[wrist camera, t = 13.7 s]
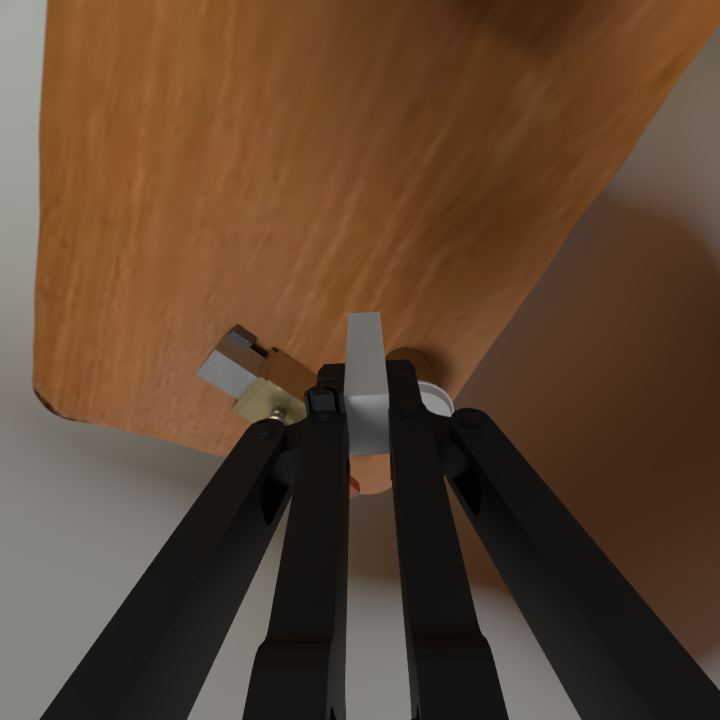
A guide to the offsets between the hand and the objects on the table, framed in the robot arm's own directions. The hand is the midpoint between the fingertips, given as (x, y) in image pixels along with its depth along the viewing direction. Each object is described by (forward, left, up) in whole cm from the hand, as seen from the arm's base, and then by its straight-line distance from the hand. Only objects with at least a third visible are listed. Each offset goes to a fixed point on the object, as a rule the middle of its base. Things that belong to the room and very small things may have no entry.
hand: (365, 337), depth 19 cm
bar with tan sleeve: (+7, -24, -29) cm, 38 cm away
